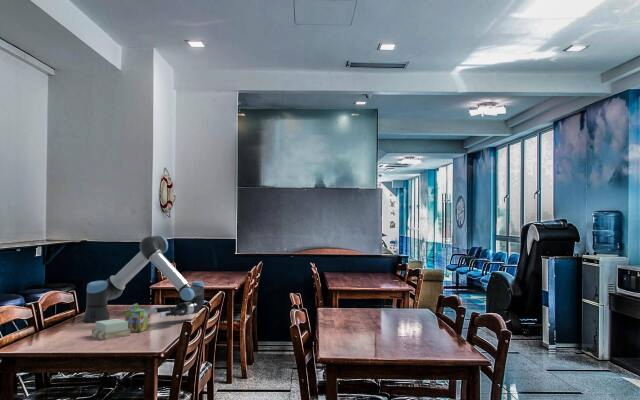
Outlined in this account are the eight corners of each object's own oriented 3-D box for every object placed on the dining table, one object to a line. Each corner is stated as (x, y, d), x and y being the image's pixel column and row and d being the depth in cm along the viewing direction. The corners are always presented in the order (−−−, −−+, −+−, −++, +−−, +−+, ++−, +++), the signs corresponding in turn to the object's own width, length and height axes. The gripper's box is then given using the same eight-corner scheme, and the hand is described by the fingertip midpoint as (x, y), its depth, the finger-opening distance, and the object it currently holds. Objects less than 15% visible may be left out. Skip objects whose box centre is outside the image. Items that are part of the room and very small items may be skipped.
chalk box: (139, 332, 288) (140, 305, 289) (124, 332, 290) (124, 304, 290) (148, 329, 297) (148, 302, 298) (133, 328, 299) (134, 302, 299)
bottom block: (91, 337, 279) (92, 329, 279) (116, 332, 290) (116, 325, 290) (105, 341, 270) (105, 333, 270) (130, 336, 281) (130, 329, 281)
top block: (95, 329, 280) (95, 321, 280) (117, 326, 289) (117, 318, 289) (105, 332, 272) (106, 324, 272) (127, 329, 280) (128, 321, 281)
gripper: (197, 317, 310) (166, 323, 294) (171, 312, 326) (141, 317, 309) (197, 304, 310) (166, 309, 294) (172, 300, 326) (141, 304, 310)
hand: (153, 313), depth 302 cm, fingers open, 13 cm apart
